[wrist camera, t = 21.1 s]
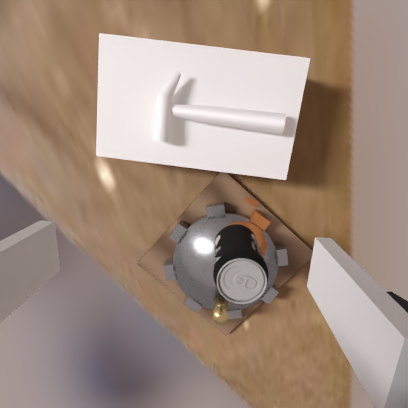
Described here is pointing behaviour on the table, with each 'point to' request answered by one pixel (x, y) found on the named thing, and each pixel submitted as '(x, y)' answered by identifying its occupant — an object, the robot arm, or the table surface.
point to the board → (234, 202)
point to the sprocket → (204, 260)
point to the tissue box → (198, 105)
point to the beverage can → (239, 265)
